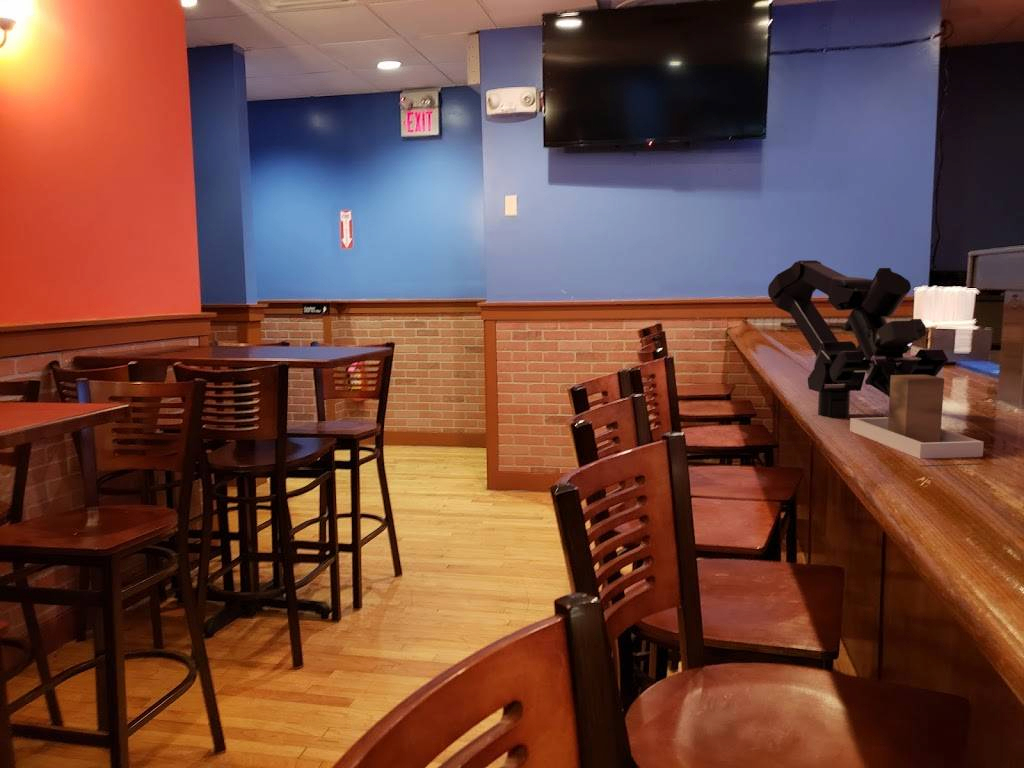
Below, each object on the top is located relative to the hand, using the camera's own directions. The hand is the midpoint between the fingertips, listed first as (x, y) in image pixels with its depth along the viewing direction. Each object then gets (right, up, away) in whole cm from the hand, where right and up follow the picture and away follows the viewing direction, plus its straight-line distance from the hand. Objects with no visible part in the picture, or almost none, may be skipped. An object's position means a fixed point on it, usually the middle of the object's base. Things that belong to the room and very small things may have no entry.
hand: (905, 404), depth 130 cm
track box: (0, -7, -1) cm, 8 cm away
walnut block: (0, -6, -2) cm, 6 cm away
